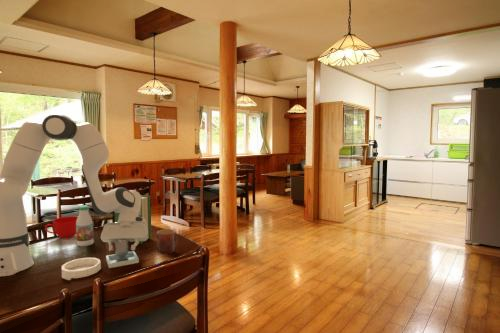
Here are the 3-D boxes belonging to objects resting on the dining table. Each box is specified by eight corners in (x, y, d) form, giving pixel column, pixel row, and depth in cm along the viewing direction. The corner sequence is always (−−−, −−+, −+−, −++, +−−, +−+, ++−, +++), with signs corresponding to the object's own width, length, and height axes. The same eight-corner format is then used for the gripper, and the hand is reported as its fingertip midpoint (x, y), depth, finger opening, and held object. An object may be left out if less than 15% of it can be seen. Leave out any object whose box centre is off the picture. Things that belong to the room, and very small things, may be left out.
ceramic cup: (42, 238, 173) (41, 220, 172) (76, 231, 185) (75, 215, 184) (49, 244, 164) (47, 225, 163) (83, 236, 176) (83, 219, 175)
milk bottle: (75, 243, 164) (73, 206, 162) (91, 240, 169) (89, 204, 167) (79, 247, 158) (77, 208, 156) (95, 244, 163) (93, 206, 161)
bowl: (61, 283, 120) (61, 274, 120) (62, 269, 132) (61, 261, 132) (102, 275, 127) (101, 266, 126) (99, 263, 139) (98, 255, 139)
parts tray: (109, 269, 132) (108, 264, 132) (106, 261, 141) (106, 255, 141) (138, 264, 138) (138, 258, 138) (134, 256, 147) (134, 250, 147)
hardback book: (151, 239, 172) (149, 195, 170) (141, 243, 165) (140, 198, 163) (125, 235, 178) (124, 193, 176) (115, 239, 171) (114, 195, 169)
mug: (179, 252, 152) (179, 231, 151) (163, 257, 146) (162, 235, 145) (166, 246, 161) (165, 226, 160) (150, 250, 154) (149, 230, 154)
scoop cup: (116, 264, 136) (116, 242, 135) (115, 260, 140) (114, 239, 140) (129, 261, 138) (128, 240, 138) (127, 257, 143) (126, 237, 142)
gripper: (102, 219, 144) (95, 247, 135) (148, 218, 146) (143, 245, 137) (106, 226, 149) (99, 253, 140) (150, 225, 151) (146, 252, 142)
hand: (121, 249), depth 139 cm, fingers open, 8 cm apart
